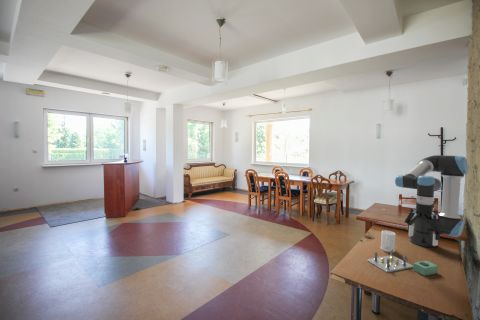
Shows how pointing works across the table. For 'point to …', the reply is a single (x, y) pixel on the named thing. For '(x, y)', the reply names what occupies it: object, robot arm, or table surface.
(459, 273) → the table surface
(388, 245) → the mug
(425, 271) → the board
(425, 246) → the robot arm
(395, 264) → the chassis
